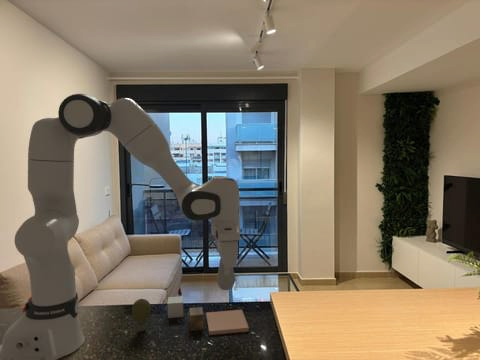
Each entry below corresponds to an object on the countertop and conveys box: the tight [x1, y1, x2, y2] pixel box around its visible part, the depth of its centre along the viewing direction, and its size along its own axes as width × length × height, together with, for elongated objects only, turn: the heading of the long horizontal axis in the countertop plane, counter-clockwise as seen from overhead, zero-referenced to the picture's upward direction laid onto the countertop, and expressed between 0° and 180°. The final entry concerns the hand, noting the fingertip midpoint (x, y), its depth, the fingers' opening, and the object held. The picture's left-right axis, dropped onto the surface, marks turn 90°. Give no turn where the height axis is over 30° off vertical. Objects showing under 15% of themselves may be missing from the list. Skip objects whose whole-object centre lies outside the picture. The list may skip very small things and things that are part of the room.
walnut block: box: [189, 306, 204, 332], centre depth 112 cm, size 4×5×5 cm
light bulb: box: [131, 298, 152, 332], centre depth 109 cm, size 6×6×10 cm
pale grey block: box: [167, 295, 184, 319], centre depth 121 cm, size 5×5×5 cm
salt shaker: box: [216, 249, 236, 291], centre depth 112 cm, size 6×6×13 cm
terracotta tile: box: [205, 309, 250, 336], centre depth 114 cm, size 12×12×1 cm
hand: (225, 271), depth 113 cm, fingers closed on salt shaker, 3 cm apart
